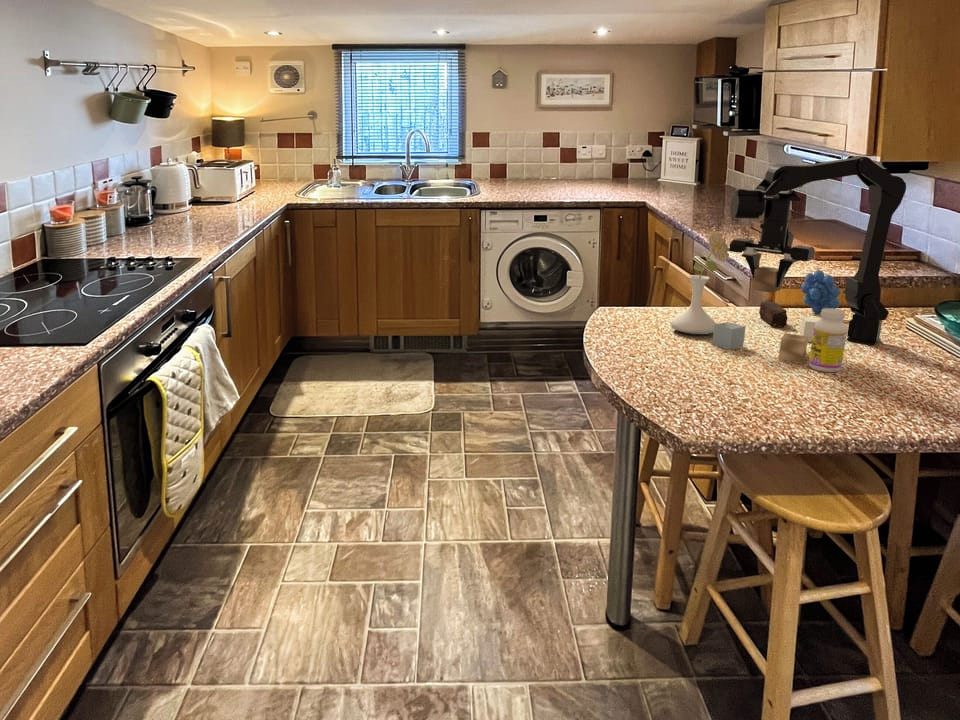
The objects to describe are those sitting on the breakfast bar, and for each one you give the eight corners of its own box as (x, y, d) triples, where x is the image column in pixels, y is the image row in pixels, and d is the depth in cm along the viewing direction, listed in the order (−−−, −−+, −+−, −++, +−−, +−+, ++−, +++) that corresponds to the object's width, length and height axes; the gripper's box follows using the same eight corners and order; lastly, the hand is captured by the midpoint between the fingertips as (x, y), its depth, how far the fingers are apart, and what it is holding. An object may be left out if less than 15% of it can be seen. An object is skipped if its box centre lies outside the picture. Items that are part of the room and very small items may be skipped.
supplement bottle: (803, 363, 193) (812, 306, 190) (834, 364, 193) (843, 307, 189) (814, 372, 187) (822, 313, 183) (845, 373, 187) (855, 314, 183)
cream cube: (821, 338, 216) (824, 318, 215) (824, 343, 211) (827, 323, 210) (799, 336, 217) (802, 316, 216) (802, 341, 212) (805, 321, 211)
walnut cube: (780, 289, 211) (783, 269, 209) (773, 292, 207) (775, 271, 205) (759, 286, 214) (762, 266, 212) (752, 289, 210) (754, 268, 208)
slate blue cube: (743, 347, 205) (745, 326, 204) (729, 350, 202) (732, 329, 201) (725, 342, 209) (727, 321, 207) (712, 345, 206) (714, 324, 204)
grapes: (789, 311, 243) (795, 268, 240) (803, 308, 247) (809, 266, 244) (827, 320, 235) (834, 276, 231) (841, 317, 239) (848, 273, 235)
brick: (757, 318, 235) (760, 301, 234) (772, 318, 235) (774, 301, 234) (771, 328, 225) (773, 310, 223) (786, 328, 225) (788, 310, 223)
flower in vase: (688, 339, 209) (699, 234, 202) (660, 328, 219) (670, 227, 212) (732, 335, 215) (744, 233, 208) (702, 324, 225) (713, 226, 217)
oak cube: (805, 358, 198) (808, 336, 196) (801, 363, 194) (805, 341, 192) (782, 354, 200) (785, 333, 199) (778, 359, 196) (781, 337, 194)
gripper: (826, 221, 206) (817, 286, 211) (749, 213, 217) (741, 275, 221) (811, 225, 198) (802, 293, 202) (732, 216, 208) (724, 281, 213)
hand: (766, 285), depth 210 cm, fingers closed on walnut cube, 5 cm apart
